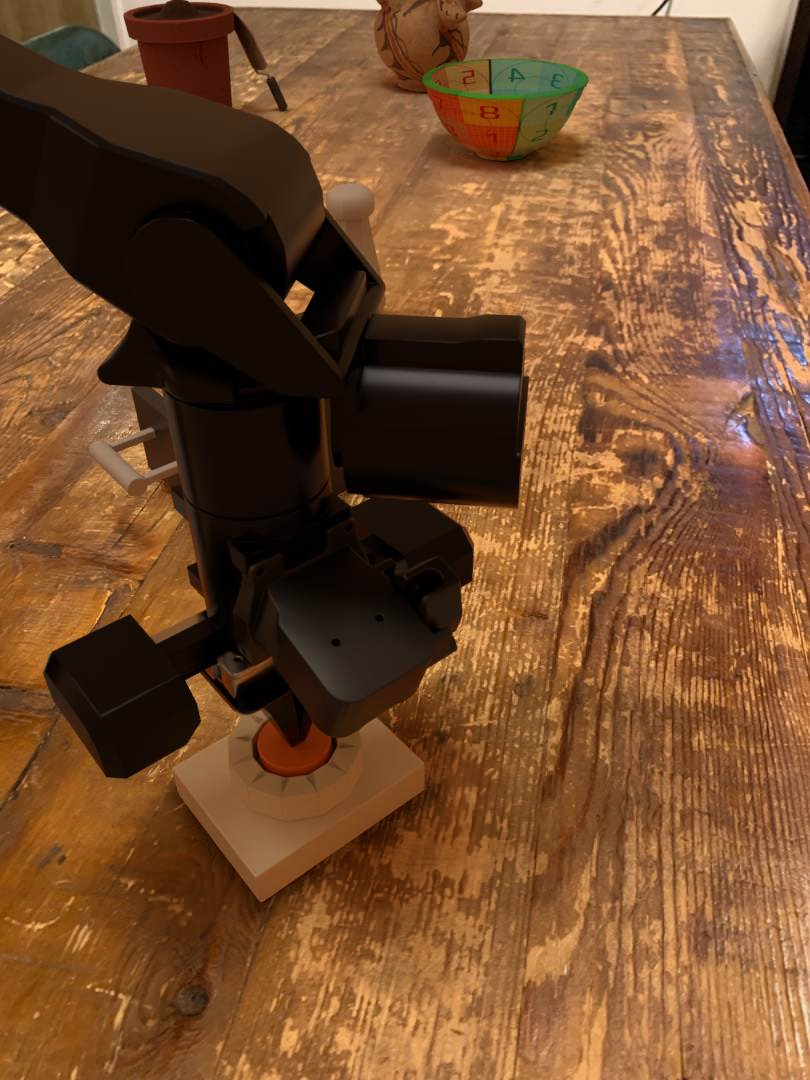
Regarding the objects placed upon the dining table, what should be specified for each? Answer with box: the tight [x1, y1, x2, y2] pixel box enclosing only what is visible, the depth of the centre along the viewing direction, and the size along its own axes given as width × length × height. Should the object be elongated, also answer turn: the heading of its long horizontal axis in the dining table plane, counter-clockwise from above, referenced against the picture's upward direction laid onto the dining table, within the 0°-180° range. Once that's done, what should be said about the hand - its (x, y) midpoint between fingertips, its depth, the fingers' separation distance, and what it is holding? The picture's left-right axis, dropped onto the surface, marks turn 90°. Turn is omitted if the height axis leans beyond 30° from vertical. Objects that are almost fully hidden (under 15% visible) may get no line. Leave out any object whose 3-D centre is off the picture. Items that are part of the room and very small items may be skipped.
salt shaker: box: [325, 183, 387, 314], centre depth 88 cm, size 6×6×13 cm
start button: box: [257, 722, 333, 778], centre depth 47 cm, size 4×4×2 cm
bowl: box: [422, 57, 590, 162], centre depth 130 cm, size 22×22×10 cm
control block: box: [171, 710, 425, 903], centre depth 48 cm, size 10×8×4 cm
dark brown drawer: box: [88, 386, 181, 498], centre depth 68 cm, size 17×10×7 cm, turn 129°
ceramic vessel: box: [373, 0, 484, 93], centre depth 156 cm, size 18×19×25 cm
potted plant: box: [122, 0, 288, 112], centre depth 139 cm, size 18×22×25 cm
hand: (293, 738), depth 46 cm, fingers closed, pressing on start button
